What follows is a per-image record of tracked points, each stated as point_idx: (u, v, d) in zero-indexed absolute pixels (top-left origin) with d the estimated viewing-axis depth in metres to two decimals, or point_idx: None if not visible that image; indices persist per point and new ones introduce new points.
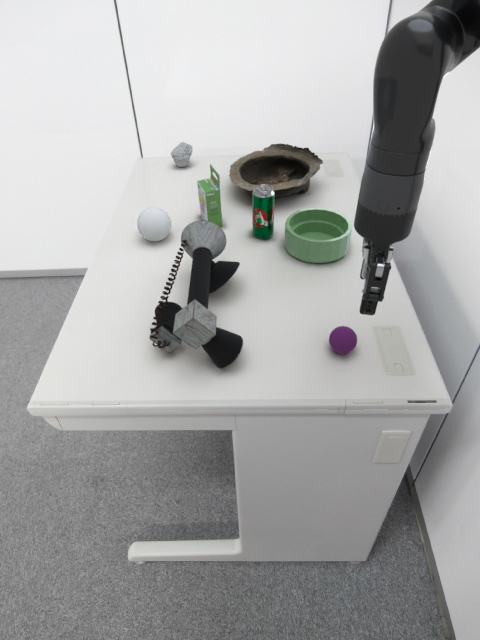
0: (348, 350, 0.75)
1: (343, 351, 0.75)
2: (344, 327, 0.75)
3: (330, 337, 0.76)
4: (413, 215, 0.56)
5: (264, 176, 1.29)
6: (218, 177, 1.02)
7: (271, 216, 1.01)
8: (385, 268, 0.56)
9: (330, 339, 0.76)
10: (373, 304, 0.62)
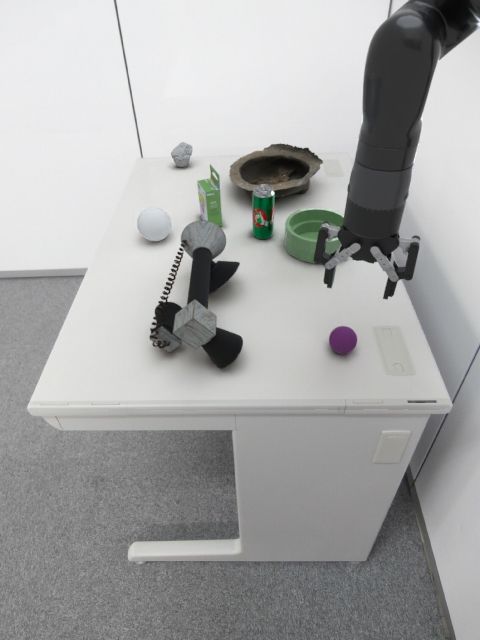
0: (348, 350, 0.75)
1: (343, 351, 0.75)
2: (344, 327, 0.75)
3: (330, 337, 0.76)
4: None
5: (264, 176, 1.29)
6: (218, 177, 1.02)
7: (271, 216, 1.01)
8: None
9: (330, 339, 0.76)
10: None
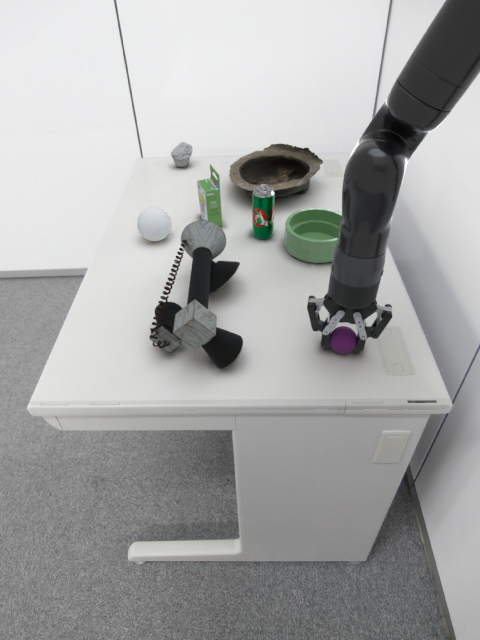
0: (348, 350, 0.75)
1: (343, 351, 0.75)
2: (344, 327, 0.75)
3: (330, 337, 0.76)
4: None
5: (264, 176, 1.29)
6: (218, 177, 1.02)
7: (271, 216, 1.01)
8: (391, 309, 0.71)
9: (330, 339, 0.76)
10: None
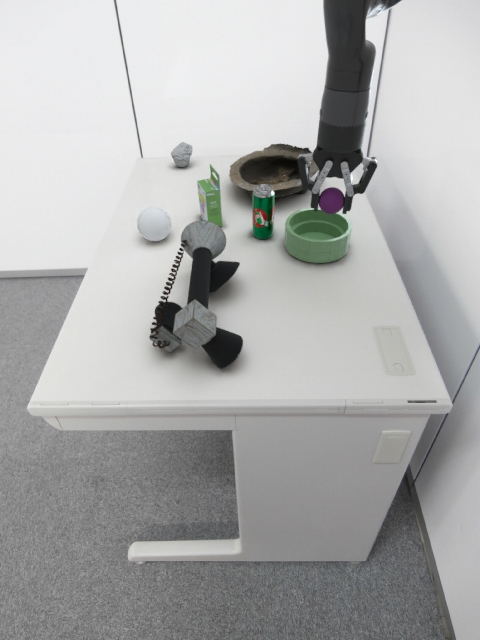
0: (336, 208, 0.80)
1: (331, 209, 0.80)
2: (332, 187, 0.80)
3: (319, 197, 0.81)
4: None
5: (264, 176, 1.29)
6: (218, 177, 1.02)
7: (271, 216, 1.01)
8: (376, 161, 0.75)
9: (319, 199, 0.81)
10: None
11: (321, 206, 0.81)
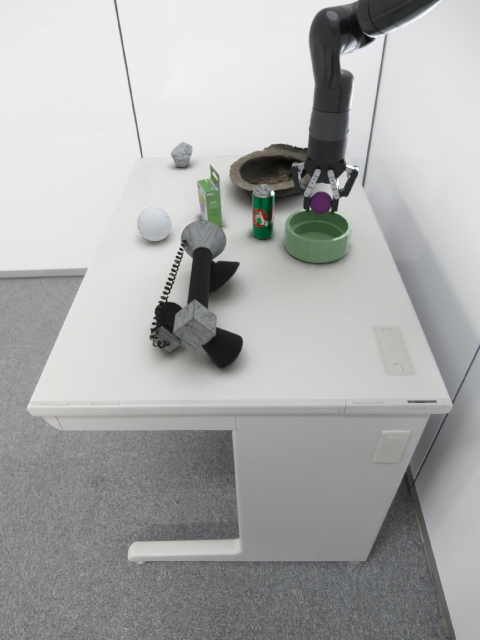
0: (325, 209, 0.93)
1: (321, 210, 0.93)
2: (321, 191, 0.94)
3: (310, 200, 0.94)
4: None
5: (264, 176, 1.29)
6: (218, 177, 1.02)
7: (271, 216, 1.01)
8: None
9: (310, 201, 0.94)
10: None
11: (312, 207, 0.94)
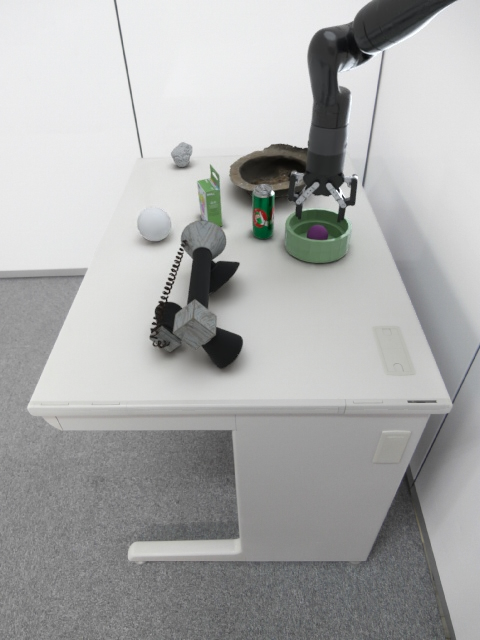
0: None
1: None
2: (317, 225, 0.99)
3: (307, 233, 1.00)
4: None
5: (264, 176, 1.29)
6: (218, 177, 1.02)
7: (271, 216, 1.01)
8: (357, 177, 0.90)
9: (307, 234, 1.00)
10: None
11: None
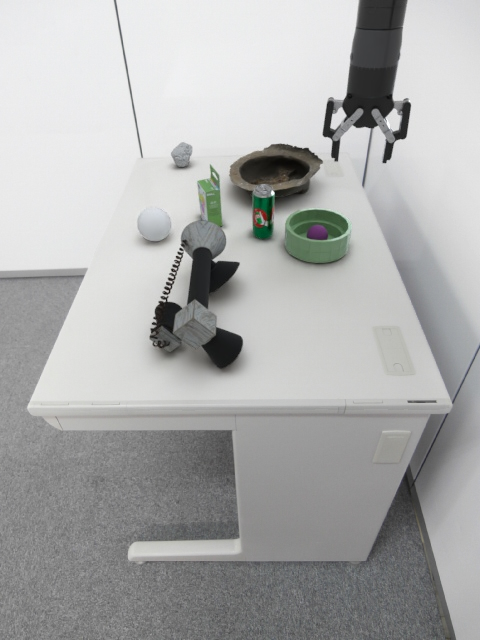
0: None
1: None
2: (317, 225, 0.99)
3: (307, 233, 1.00)
4: None
5: (264, 176, 1.29)
6: (218, 177, 1.02)
7: (271, 216, 1.01)
8: None
9: (307, 234, 1.00)
10: None
11: None
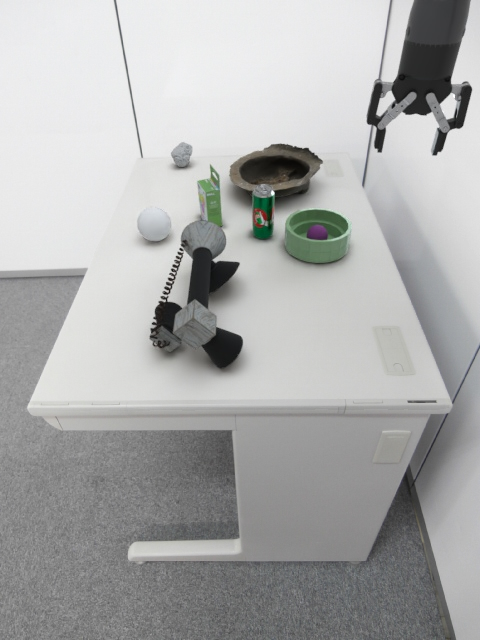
0: None
1: None
2: (317, 225, 0.99)
3: (307, 233, 1.00)
4: None
5: (264, 176, 1.29)
6: (218, 177, 1.02)
7: (271, 216, 1.01)
8: None
9: (307, 234, 1.00)
10: None
11: None
